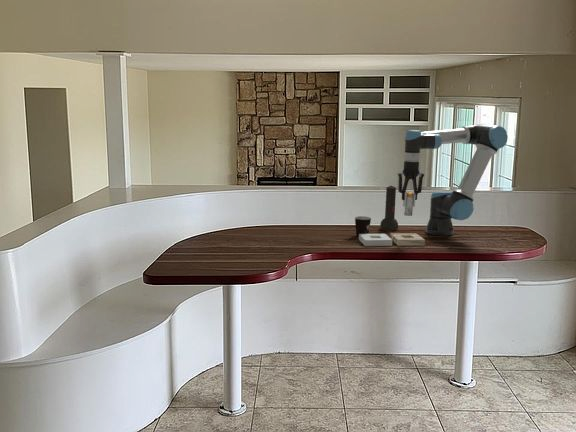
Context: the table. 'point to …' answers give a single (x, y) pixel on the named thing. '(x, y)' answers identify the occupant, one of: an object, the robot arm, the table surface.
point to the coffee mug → (362, 225)
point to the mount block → (375, 240)
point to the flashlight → (390, 211)
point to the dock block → (407, 239)
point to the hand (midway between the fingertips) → (408, 206)
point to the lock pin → (409, 204)
